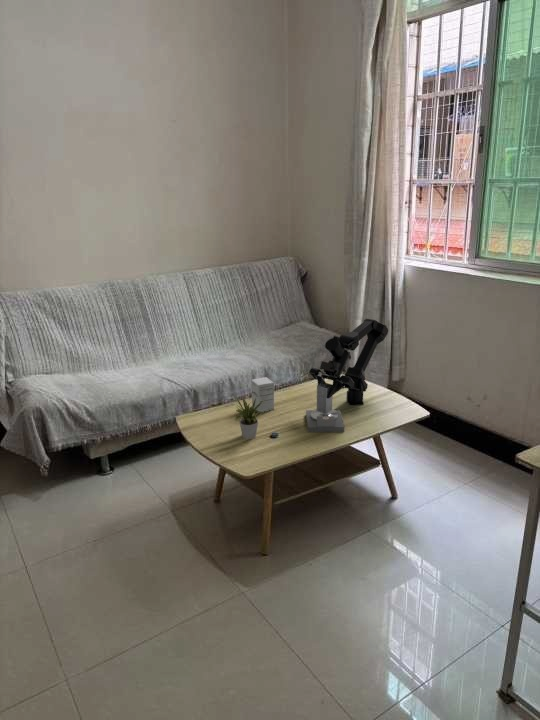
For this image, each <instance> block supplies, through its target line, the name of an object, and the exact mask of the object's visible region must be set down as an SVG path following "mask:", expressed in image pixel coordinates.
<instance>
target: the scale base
mask: <svg viewBox="0 0 540 720" xmlns="http://www.w3.org/2000/svg"><path fill="white" fill-rule="evenodd" d="M312 410H313V409H312ZM312 410H309V409H306V410H305V417H306V425H307V426H306V427H307V433H344V432H345V424H344V420H343V416H342V412H341V410H340V409H337V410H336V409H334V410H335V411H337V412H338V418H337V419H336V420H335V416H317V421H315V420H313V419H312V418H311V411H312Z"/></svg>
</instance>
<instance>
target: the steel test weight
mask: <svg viewBox="0 0 540 720" xmlns="http://www.w3.org/2000/svg"><path fill="white" fill-rule="evenodd" d="M332 385H333V383H332V384H331V383H327V382H326V383H324V382H323V383H321V384H319V385H318V384H317V385H316V409H317V411H318V412H321V413H324V414H327V413H328V412H330V411H332V409H333V396H334V395H333V396H331V397H330V398H329V399H328V398H327V396H328V393H329V391H330V389H331V387H332Z"/></svg>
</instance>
